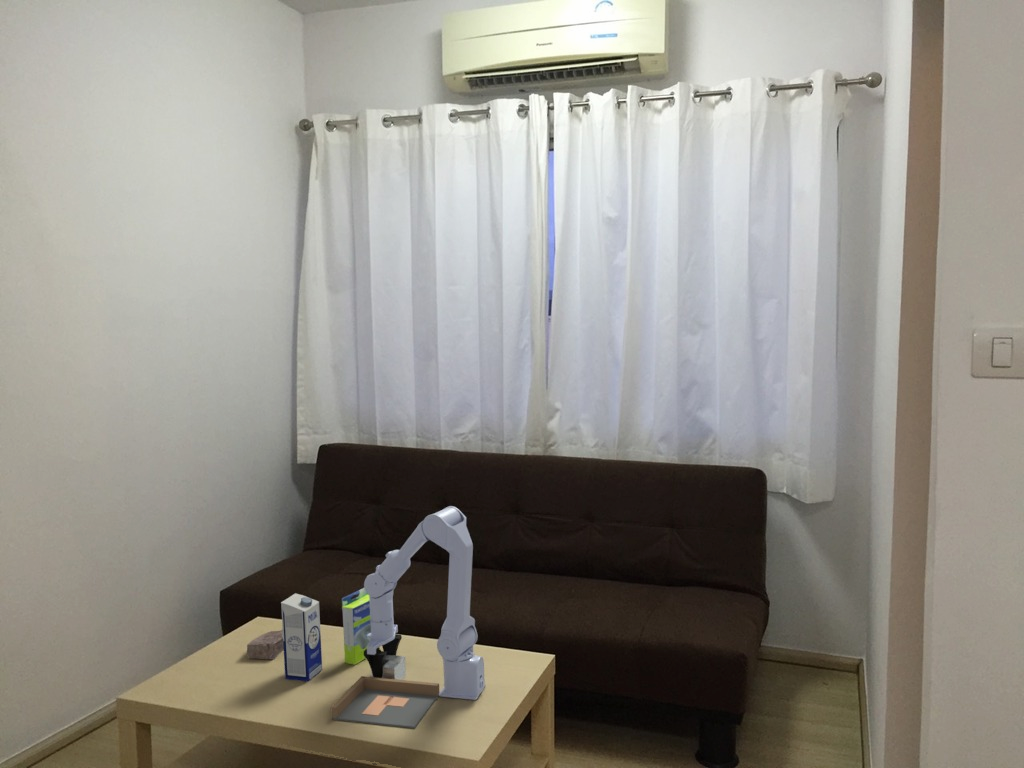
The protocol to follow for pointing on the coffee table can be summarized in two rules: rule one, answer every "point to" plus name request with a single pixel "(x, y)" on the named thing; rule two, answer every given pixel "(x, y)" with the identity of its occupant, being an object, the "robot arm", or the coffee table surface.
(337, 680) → the coffee table surface
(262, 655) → the stone
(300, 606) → the milk carton
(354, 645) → the box
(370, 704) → the arena
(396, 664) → the l block
